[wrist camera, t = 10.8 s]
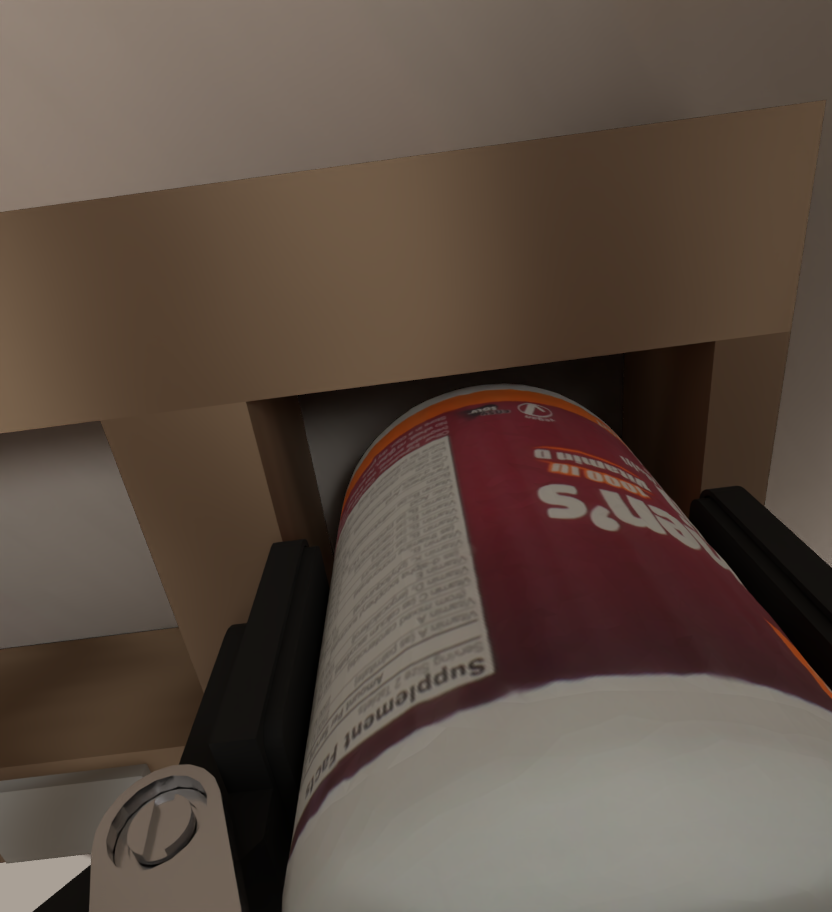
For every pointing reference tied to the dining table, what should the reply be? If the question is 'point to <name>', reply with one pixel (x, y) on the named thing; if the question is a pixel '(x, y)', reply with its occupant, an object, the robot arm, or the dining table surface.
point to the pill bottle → (549, 689)
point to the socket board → (365, 370)
